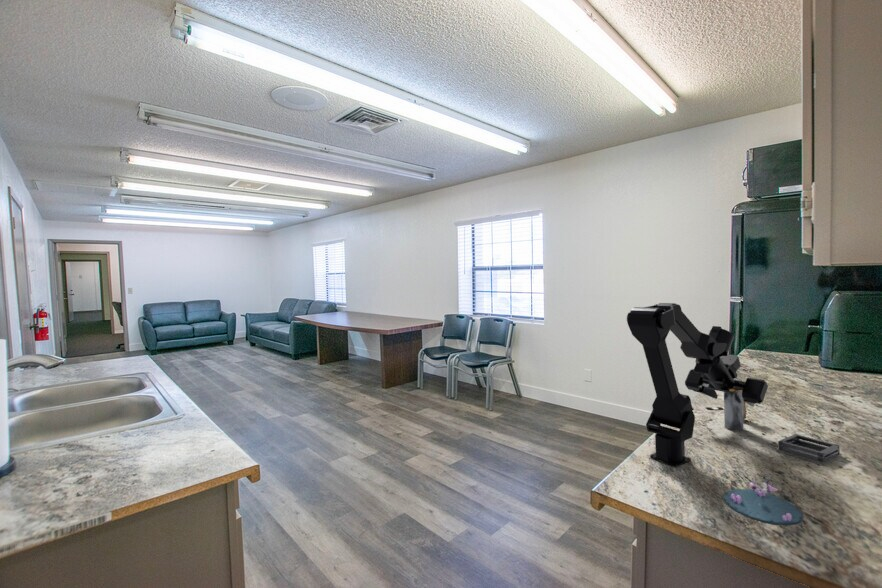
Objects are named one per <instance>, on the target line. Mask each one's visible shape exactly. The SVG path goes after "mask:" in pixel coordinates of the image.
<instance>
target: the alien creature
mask: <svg viewBox="0 0 882 588" xmlns="http://www.w3.org/2000/svg"><path fill="white" fill-rule="evenodd" d="M753 478H754V477H753V476H752V479H751V480H752V481H751V482H750V483H749V486H750V488H751V489H749V488H745V489H744V488H742V489H741V488H736V489H735V488H734V489H730V490H728V491H727V492H725V493H724V495H723V496H722V498H723V501H724V503H725V504H726V505H727V507H729V508H730V509H731V510H733V511H734V512H736V513H738V514H740V515H741V516H744V517H746V518H748V519H751V520H754V521H757V522H761V523H764V524H769V525H776V526H793V525H798V524H800V523H802V522H803V520H804V515H803V513H802V511H801V510H800V509H799V508H798V507H797V506H795V505H794V504H793V503H792V502H789V501H787V500H785V499H784V498H781V497H780V496H776V495H774V494H772V493H774V492H775V491H778V490H779V489H778V488H776V487H773V486H774V485H775V484H776V483H773V482H772V484H771V485H770V484H769V482H770V481H771V479H768V480H766V482H762V483H761V486H762V489H761V490H760V488H758V486H757V484H756V483H754V479H753ZM771 492H772V493H771Z"/></svg>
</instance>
